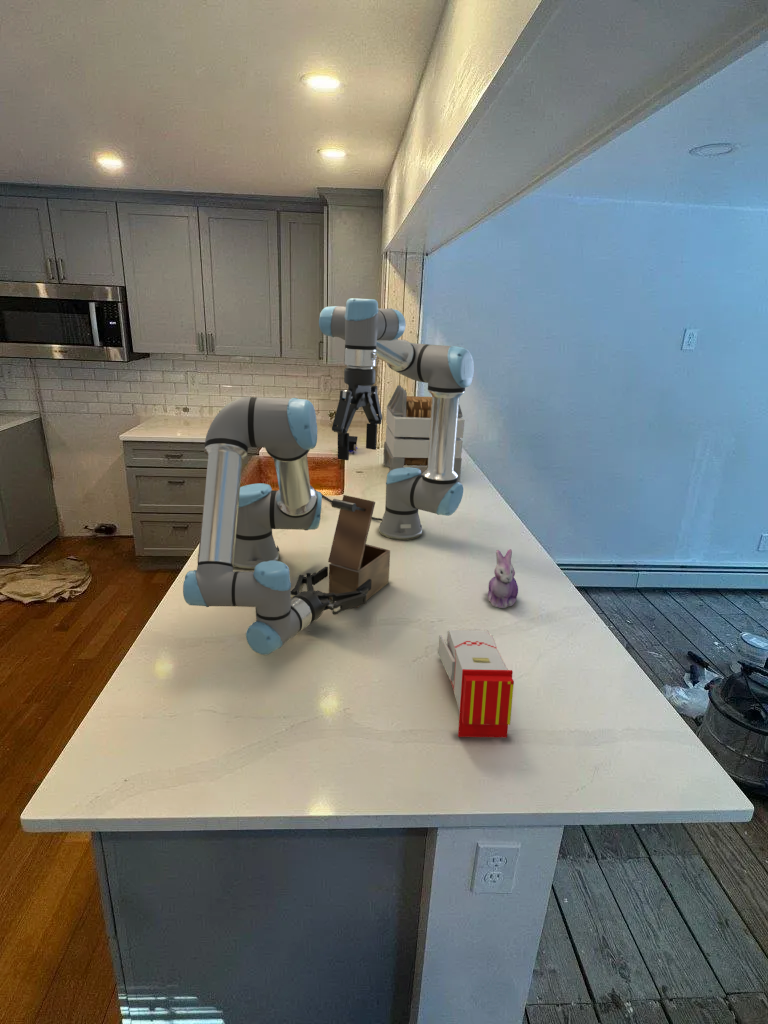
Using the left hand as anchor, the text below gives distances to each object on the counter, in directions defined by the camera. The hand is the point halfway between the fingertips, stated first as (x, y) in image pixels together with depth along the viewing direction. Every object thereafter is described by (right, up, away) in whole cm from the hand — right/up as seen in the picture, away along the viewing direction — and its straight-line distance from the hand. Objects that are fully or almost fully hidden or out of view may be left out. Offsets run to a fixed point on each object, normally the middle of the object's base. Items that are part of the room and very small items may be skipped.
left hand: (348, 577), depth 151 cm
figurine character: (-8, +50, +158) cm, 166 cm away
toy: (+27, -20, -33) cm, 47 cm away
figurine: (+42, -7, +5) cm, 43 cm away
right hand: (+3, +32, -8) cm, 33 cm away
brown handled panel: (+1, +12, -3) cm, 12 cm away
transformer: (+27, +36, +124) cm, 132 cm away
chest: (+3, -5, +8) cm, 9 cm away
